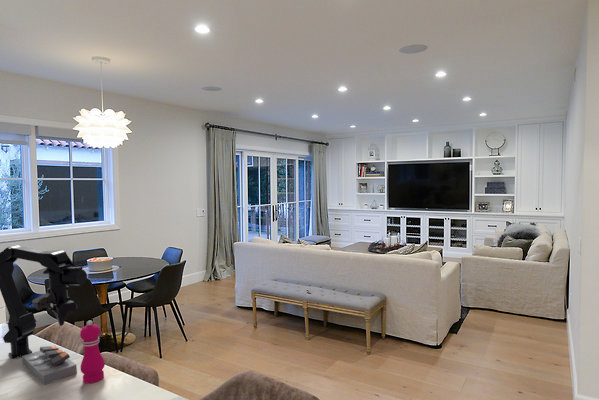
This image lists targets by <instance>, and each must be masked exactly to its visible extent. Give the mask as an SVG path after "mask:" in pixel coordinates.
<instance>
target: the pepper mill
mask: <svg viewBox="0 0 599 400" xmlns="http://www.w3.org/2000/svg"><path fill="white" fill-rule="evenodd" d="M93 323H94V322H93V320H88V321H86V325H84V326H83V327H82V328H81V329H80V331H79V332H80V333H79V336H80V339H81V340H82V346H83V349H84V354H83V357H82V360H81V363H80V372H81V373H82V374H83V375H82V382H83V383H85V384H93V383H97V382H99V381H101V380H102V379H103V378H104V377H105V374H104V372H105V371H104V368H105V365H106V364H105V359H104V357H103V355H102V354H101V352H100V349H99V343H100V337H99V336H100V335H101V328H100V327H99V325H97V324H96V323H94V324H93Z"/></svg>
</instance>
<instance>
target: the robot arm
mask: <svg viewBox="0 0 599 400" xmlns="http://www.w3.org/2000/svg"><path fill="white" fill-rule="evenodd" d="M17 260H25V261H30V262H35V263H39V264H40V265H41V267H44V268H46V269H45V270H44V271H43V272H42V274H45V275H48V284H49V285H48V286H49V287H48V288H47V290H46V293H43V294H41V295H40V296H38V297H36V298H34V299H32V300H31V303H32V305H33V307H35V308H34V309H36V310H37V311H40V310H43V309H44V308H46V307H47V306H48V305H50V306H48V309H49V310H50V311H52V312H53V313H54V315H55V318H56V321H57V323H58V325H59V326H60V327H62V326H64V325H65V322H66V319H67V317H68V315H69V312H71V311H75V310H77V309H78V303H77V302H75V301H74V300H71V297H70V296H69V294H68V293H69V292H68V290H70V286H83V285H85V283H86V282H87V279H88V274H87V272H86V271H85V270H84V269H83V266H76V265H75V264H74V262H73V261H72V260H71V258H70V256H68V254H67V251H65V250H42V249H37V248H36V249H34V248H31V247H30V248H29V247H26V246H21V245H19V244H18V245H17V244H16V245H12V246H8V247H6V248H5V249H3V250H2V251H1V252H0V293H1V296H2V298H3V301H4V303H5V307H6V309H7V312H8V315H9V318H8V322H7V326H8V331H7V332H6V333H5V334H4V336H2V339H3V341H4V343H5V344H10V352H9V353H8V354H7V355H8V356H9V357H10V358H11V359H13V360H14V359H17V358H20V357H21V358H22V356H24V355H27V354H31V353H33V350H31V349H30V344H29V343H30V342H29V337H30V336H33V335H34V332H35V329H36V327H37V323H36V322H37V320H36V318H35V315H34V312H28V311H26V310H25V307H24V305H23V301H22V299H21V297H20V294H19V291H18V288H17V286H16V283H15V281H14V278H13V274H14V270H15V266H14V263H15V262H16V261H17Z"/></svg>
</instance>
